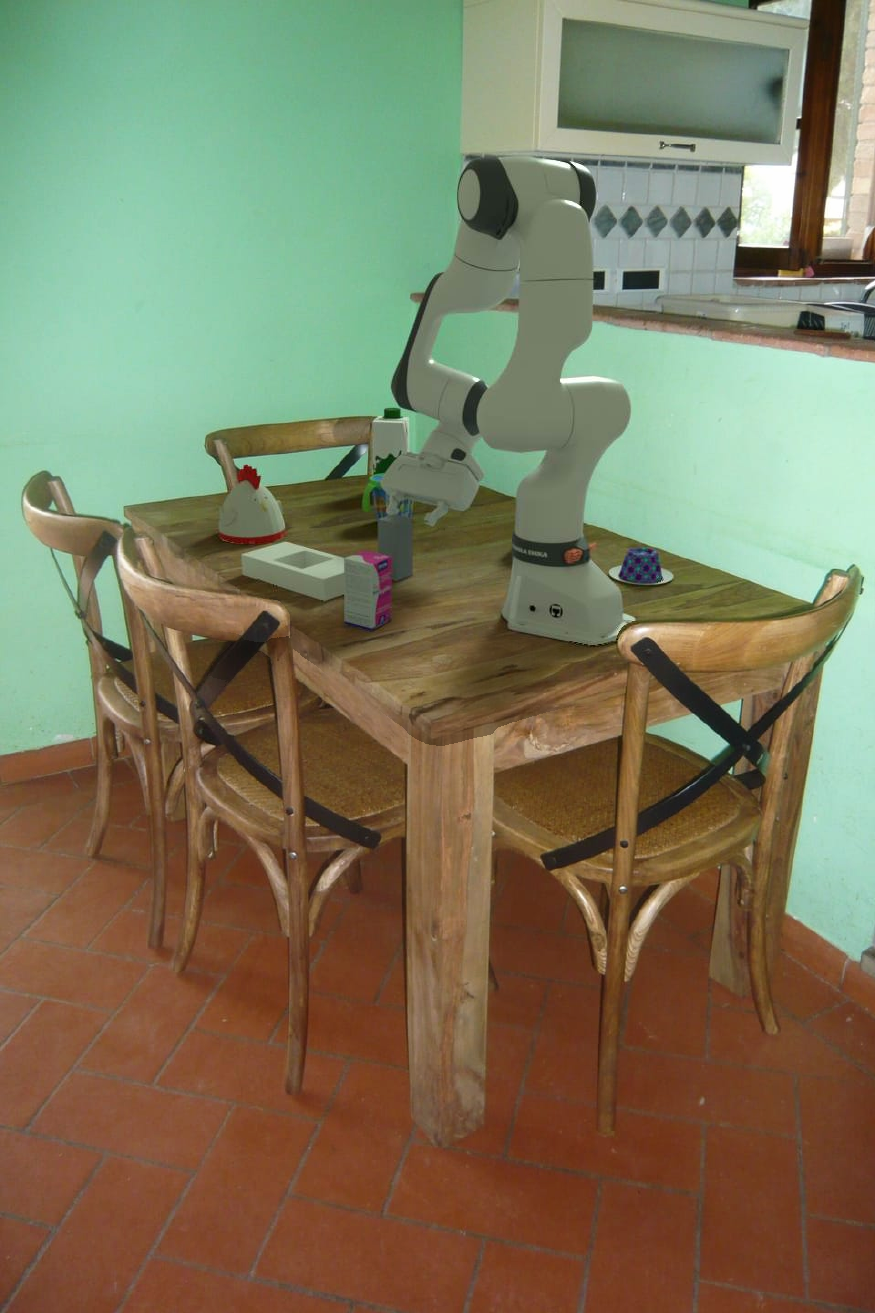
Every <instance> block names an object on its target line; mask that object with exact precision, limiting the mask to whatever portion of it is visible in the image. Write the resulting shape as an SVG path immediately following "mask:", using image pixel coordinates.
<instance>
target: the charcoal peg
mask: <svg viewBox="0 0 875 1313" xmlns="http://www.w3.org/2000/svg"><path fill="white" fill-rule="evenodd" d="M377 549H378V550H377V551H378V554H383V555H388V556H391V557H392V579H391V581H394V582H398V581H401V580H404V579H408V578H410V577H412V576H413V575H414V574H413V563H414V562H413V518H412V517H411V518H408V517H404V516H399V515H395V514H394V515H390V516H387V517H383V518H380V519H378V521H377Z"/></svg>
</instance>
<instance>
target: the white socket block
mask: <svg viewBox="0 0 875 1313" xmlns="http://www.w3.org/2000/svg"><path fill="white" fill-rule="evenodd" d="M240 557H241V558H240V559H241V570H242V571H241V572H242V576H245V577H248V578H251V579H255V580H257V579H260V580H263V581H266V582H265V583H267V582H269V583H268V584H270V583H271V584H270V585H273V584H274V586H276V585H277V587H279V588H283V589H286V590H287V591H292V592H295V593H298V594H301V595H304V596H307V597H310V598H314V599H317V600H320V601H322V600H323V602H326V601H329V600H331V599H334V598H337V597H340V596H342V595H344V558H345V557H342V556H338V555H335V554H332V553H327V552H324V551H320V550H316V549H313V548H309V547H306V546H303V545H299V544H295V543H291V542H288V541H282V542H280V543H275V544H272V545H270V546H264V547H262V548H258V549H256V550H250V551H249V552H245V553H241V554H240ZM260 580H259V581H260ZM263 581H262V582H263ZM325 600H326V601H325Z"/></svg>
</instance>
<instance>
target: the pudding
mask: <svg viewBox="0 0 875 1313" xmlns="http://www.w3.org/2000/svg"><path fill="white" fill-rule="evenodd" d="M625 553H626V554H625V556H624V558H623V562H622V564H620V565H617V566H613V567H612V568H609V570H608V574H609V576H610V577H611V578H613V579H615V580H616V581H619V582H623V583H627V584H631V585H632V584H633V585H638V586H640V585H641V586H643V585H645V586H651V585H652V586H653V585H661V584H665V583H668V582H670V581H672V580H673V579H674V574H673V573H672V572H671V571H669V570H668V569H665V568H663V567H662V566H661V559H660V555H659V552H658V551H657V550H655V549H652V548H649V547H632V548H630V549H628V550H627V551H626V552H625ZM623 579H624V580H623ZM663 579H664V580H663ZM625 580H626V581H625ZM659 580H661V582H660V581H659ZM662 580H663V581H662ZM632 581H633V582H632ZM657 582H658V583H657Z"/></svg>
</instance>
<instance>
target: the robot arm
mask: <svg viewBox="0 0 875 1313" xmlns="http://www.w3.org/2000/svg"><path fill="white" fill-rule="evenodd" d="M456 201H457V209H458V212H459V215H460V217H461V221H460V224H459V227H458V230H457V234H456V239H455V244H454V249H453V253H452V254H453V255H452V258H451V260H450V263H449V264H448V266H447V268H446V270H445V271H442V272H438V273H436V274H435V275H434V276H433V277H432V279H431V280H430V282H429V283H428V285H427V287H426V289H425V290H424V294H423V296H422V299H421V301H420V303H419V304H420V305H419V307H418V309H417V313H416V315H415V317H414V320H413V324H412V327H411V330H410V333H409V336H408V339H407V341H406V345H405V347H404V350H403V353H402V355H401V358H400V359H399V362H398V364H397V366H396V368H395V371H394V373H393V375H392V379H391V381H390V382H391V383H390V390H391V393H392V395H393V398H394V400H395V402H396V403H397V405H398V408H400V409H404V410H407V411H409V412H410V411H411V412H414V413H418V414H422V415H424V416H427V417H429V418H431V419H434V420H436V421H438V424H437V426H436V427H435V428H434V429H433V430H432V431H431V432H430V433H429V435H428V437H427V439H426V441H425V442H424V444H423V446H422V448H421V450H420V451H419V453H414V452H411V451H410V452H406V454H402V455H400V456H399V457H398V458H397V459H396V460H395V461H394V462H393V463H392V464H391V466H390V467H389V468H388V470H387V471H386V472H385V474H384V475H383V477H382V479H381V481H380V483H381V487H382V488H383V490H384V491H385V492H386V493H387V494H388V495H389V506H388V508H387V509H386V513H387V514H388V515H389V516H390V515H394V514H395V515H397V513H398V512H399V511H400V510H399V509H398V508H397V502H400V501H401V499H402V498H405V499H409V500H414V501H415V502H416V501H418V502H423V503H422V504H428V505H432V506H437V507H436V508H435V509H433V511H431V512H426V515H425V517H424V519H423V522H424V523H425V524H426V525H427V526H431V527H434V526H435V524H436V523H437V521H438V520H439V519H440V518H442V517H444V516H445V515H447V513H448V512H449V511H450V510H454V511H458V512H464V511H466V510H467V509H469V508H470V506H471V505H472V504H473V501H474V499H475V498H476V495H477V494H478V490H479V488H480V483H481V481H482V480H483V479H484V477H485V471H484V470H483V468H482V467H481V465H480V464H479V463H478V461H477V460H476V458H474V456H473V451H474V447H475V446H476V445H477V443H479V442H480V440H481V439H483V440H484V442H485V444H487V446H488V447H490V448H491V449H492V450H499V451H503V452H512V453H519V454H522V453H532V452H542V451H543V452H545V451H546V452H545V453H544V456H543V458H542V460H541V462H539V464H538V465H537V467H536V468H535V469H533V471H531V472H530V473H528V474H527V475H525V477H524V478H523V479H522V480H521V481H520V482H519V484H518V486H517V489H516V494H515V495H516V496H515V515H514V516H515V517H514V518H515V519H514V522H515V523H514V531H512V535H511V548H510V549H511V551H510V552H511V553H510V554H511V558H512V566H511V574H510V579H509V586H508V590H507V594H506V595H507V596H506V598H505V599H506V600H505V601H504V605H503V608H502V610H501V615H502V617H503V618H504V619H505V620H506V622H507V628H508V629H509V630H512V631H515V632H521V633H525V634H530V635H535V636H540V637H545V638H550V639H555V640H560V641H565V642H569V641H573V642H572V643H574V642H578V643H577V644H579V643H583V644H582V645H584V644H588V645H587V646H590V645H594V644H601V643H606V642H609V641H613V642H616V641H617V640H616V638H617V635H618V633H619V631H620V630H621V628H622V627H623V626H624V625H626V624H628V623H631V622H632V621H636V618H635V617H634V616H632V615H630V614H627V613H626V612H625V613H624V605H623V598H622V597H623V596H622V592H621V590H620V588H619V586H618V585H617V584H616V583H614V581H613V580H611V579H610V577H608V576H607V575H606V573H604V571H602V569H601V568H600V567H599V566H598V565H597V564H596V563H595V562H594V561H593V560H592V559H591V558H592V556H591V552H592V551H594V550H596V549H597V547H595V546H596V545H597V542H593V543H592V542H591V543H589V544H588V542H587V539H586V536H585V534H584V533H583V531H584V521H585V512H586V511H585V510H586V502H587V494H588V488H589V485H590V482H591V479H592V476H593V475H594V471H595V470H596V469H597V468H596V467H597V466H598V465H599V462H600V460H601V459H602V457H603V455H604V454H605V453H606V452H607V450H608V448H609V447H611V445H613V443H614V442H616V440H617V439H619V438H620V437H621V436H622V435H623V434H624V433H625V431H626V429H627V427H628V425H629V423H630V419H631V414H632V407H631V406H632V405H631V400H630V396H629V394H628V392H627V390H626V388H625V387H624V385H623V384H622V383H621V382H620V381H618V380H616V379H613V378H607V377H605V376H604V377H603V376H597V375H588V374H587V375H572V376H562V372H563V367H564V366H565V363H566V361H567V359H568V358H569V356H570V355H571V354H572V353H573V351H575V350H577V349H578V348H580V347H581V346H582V345H583V344H585V343H586V342H587V341H588V339H589V337H590V336H591V334H592V330H593V314H594V313H593V312H594V305H593V304H594V254H593V242H592V233H591V228H590V220H591V219H592V216H593V213H594V211H595V207H596V202H597V187H596V183H595V180H594V177H593V175H592V173H591V172H590V170H589V169H588V168H587V167H585V166H584V165H582V164H580V163H577V162H574V161H571V160H561V161H559V160H554V159H550V158H549V159H548V158H542V157H541V158H540V157H534V156H532V155H510V156H509V155H508V156H498V157H497V156H495V155H487V156H482V157H479V158H475V159H473V160H470V161H469V162H468V163H466V165H465V167H464V169H463V171H462V173H461V175H460V177H459V180H458V183H457V190H456ZM518 269H519V270H518ZM518 271H519V274H518ZM517 275H519V276H518V280H519V282H518V284H519V285H518V286H519V287H518V288H519V289H518V293H519V294H518V316H517V318H518V321H517V332H516V339H515V343H514V347H513V350H512V353H511V355H510V358H509V360H508V363H506V365H505V368H504V369H503V371H502V373H501V374H500V375H499V376H498V378H497V379H496V380H495V381H494V382H493V383H492V384H491V385H490V386H489V385H488V384H487V383H486V382H485V381H484V380H482V379H480V378H479V377H477V376H475V375H472V374H469V373H467V372H464V371H462V370H458V369H455V368H453V367H450V366H447V365H445V364H442V363H439V362H438V361H436V360H435V359H434V357H433V356H432V351H433V349H434V344H435V342H436V339H437V336H438V334H439V331H440V329H441V325H442V324H443V320H444V318H445V317H446V316H448V315H454V314H474V313H480V312H485V311H488V310H492V309H494V308H496V307H498V306H499V305H500V304H502V303H503V302H504V301H505V300H506V299H507V298H508V297H509V295H510V294H511V292H512V290H513V288H514V284H515V283H516V282H515V281H516V278H517ZM479 482H480V483H479ZM418 502H417V503H418Z"/></svg>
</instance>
